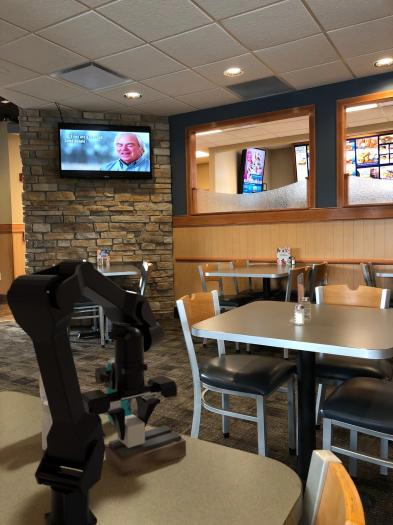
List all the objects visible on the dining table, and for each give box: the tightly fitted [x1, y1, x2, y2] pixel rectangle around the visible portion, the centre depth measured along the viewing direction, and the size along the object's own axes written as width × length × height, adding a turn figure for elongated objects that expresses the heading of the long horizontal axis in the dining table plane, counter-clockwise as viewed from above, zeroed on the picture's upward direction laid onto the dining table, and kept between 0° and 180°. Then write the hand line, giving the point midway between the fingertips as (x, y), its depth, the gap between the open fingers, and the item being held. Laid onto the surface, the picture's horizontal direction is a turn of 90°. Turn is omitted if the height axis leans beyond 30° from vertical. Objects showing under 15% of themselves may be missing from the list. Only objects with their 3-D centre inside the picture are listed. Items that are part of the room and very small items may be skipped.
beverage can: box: [106, 357, 133, 426], centre depth 104 cm, size 6×6×15 cm
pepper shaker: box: [41, 401, 52, 451], centre depth 92 cm, size 4×4×10 cm
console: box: [104, 425, 187, 478], centre depth 87 cm, size 14×8×4 cm, turn 125°
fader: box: [116, 414, 146, 448], centre depth 85 cm, size 4×5×5 cm
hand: (130, 437), depth 85 cm, fingers closed on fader, 3 cm apart
